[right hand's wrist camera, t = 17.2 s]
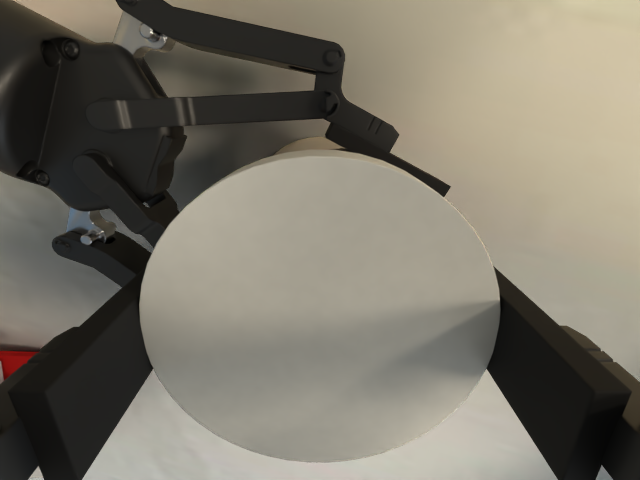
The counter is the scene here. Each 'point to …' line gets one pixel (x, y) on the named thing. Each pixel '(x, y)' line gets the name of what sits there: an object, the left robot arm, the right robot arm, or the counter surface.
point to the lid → (319, 307)
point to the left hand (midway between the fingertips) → (386, 268)
